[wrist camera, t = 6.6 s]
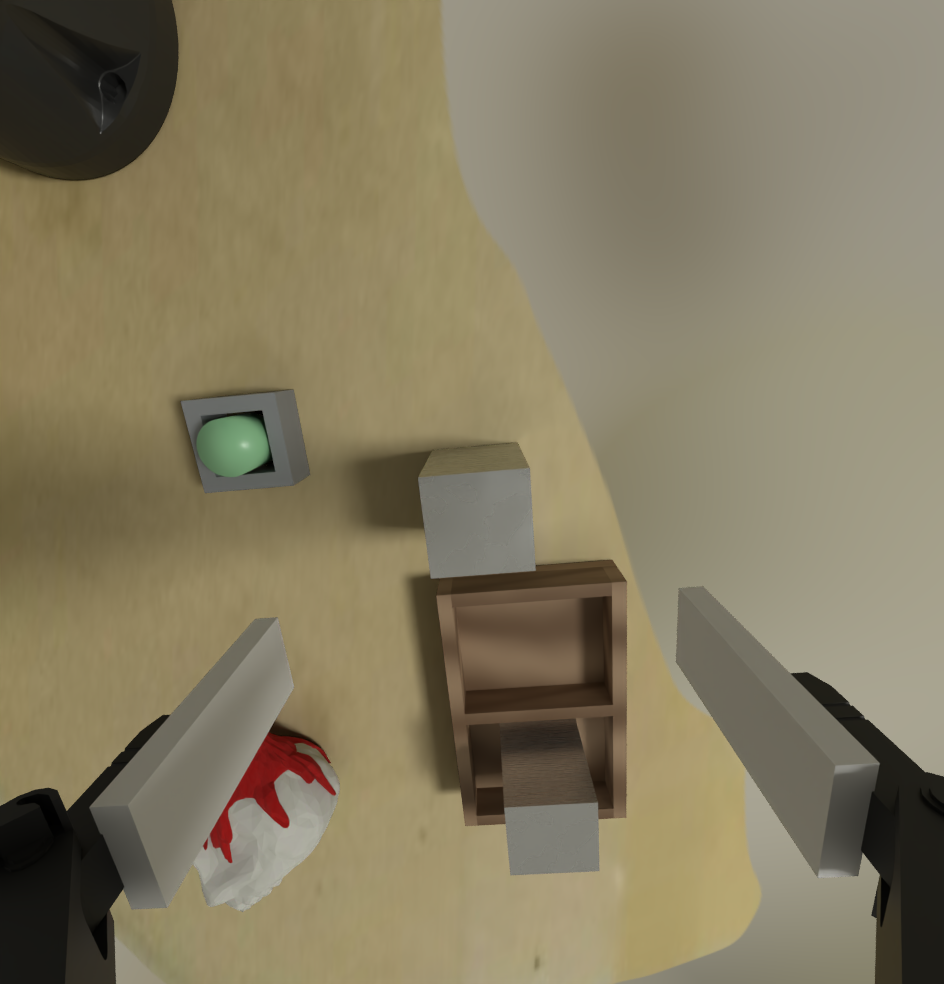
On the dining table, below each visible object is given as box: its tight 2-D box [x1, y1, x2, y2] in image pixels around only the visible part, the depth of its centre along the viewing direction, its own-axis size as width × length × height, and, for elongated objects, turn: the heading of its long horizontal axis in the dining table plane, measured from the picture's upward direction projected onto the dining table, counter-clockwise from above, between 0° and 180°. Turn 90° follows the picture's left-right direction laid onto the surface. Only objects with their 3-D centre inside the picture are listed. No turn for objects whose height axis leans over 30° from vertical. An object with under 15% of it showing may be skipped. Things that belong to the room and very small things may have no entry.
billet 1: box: [418, 442, 536, 579], centre depth 29 cm, size 6×6×8 cm
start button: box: [196, 413, 273, 477], centre depth 29 cm, size 4×4×4 cm
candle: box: [193, 732, 340, 912], centre depth 36 cm, size 9×11×15 cm
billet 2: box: [500, 718, 599, 875], centre depth 34 cm, size 6×6×8 cm
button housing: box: [181, 390, 310, 493], centre depth 30 cm, size 6×6×3 cm
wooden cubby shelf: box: [436, 560, 627, 826], centre depth 35 cm, size 21×13×4 cm, turn 5°
